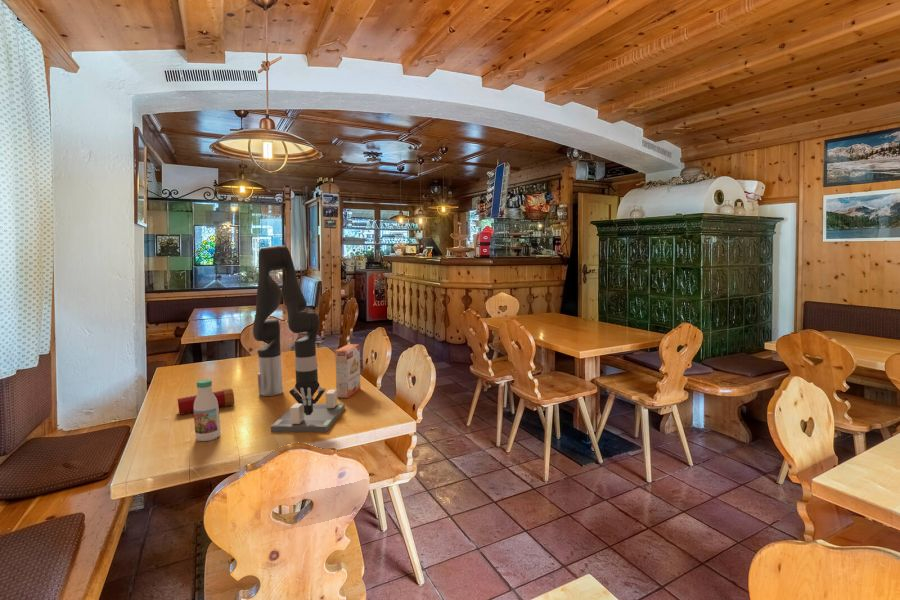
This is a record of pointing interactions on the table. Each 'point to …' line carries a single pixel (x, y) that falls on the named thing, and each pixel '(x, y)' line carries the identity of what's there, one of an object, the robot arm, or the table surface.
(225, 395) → the red tube
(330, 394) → the handle
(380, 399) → the table surface
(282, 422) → the breaker panel
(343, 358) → the cracker box
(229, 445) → the table surface
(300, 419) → the beige rectangular block
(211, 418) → the milk bottle
